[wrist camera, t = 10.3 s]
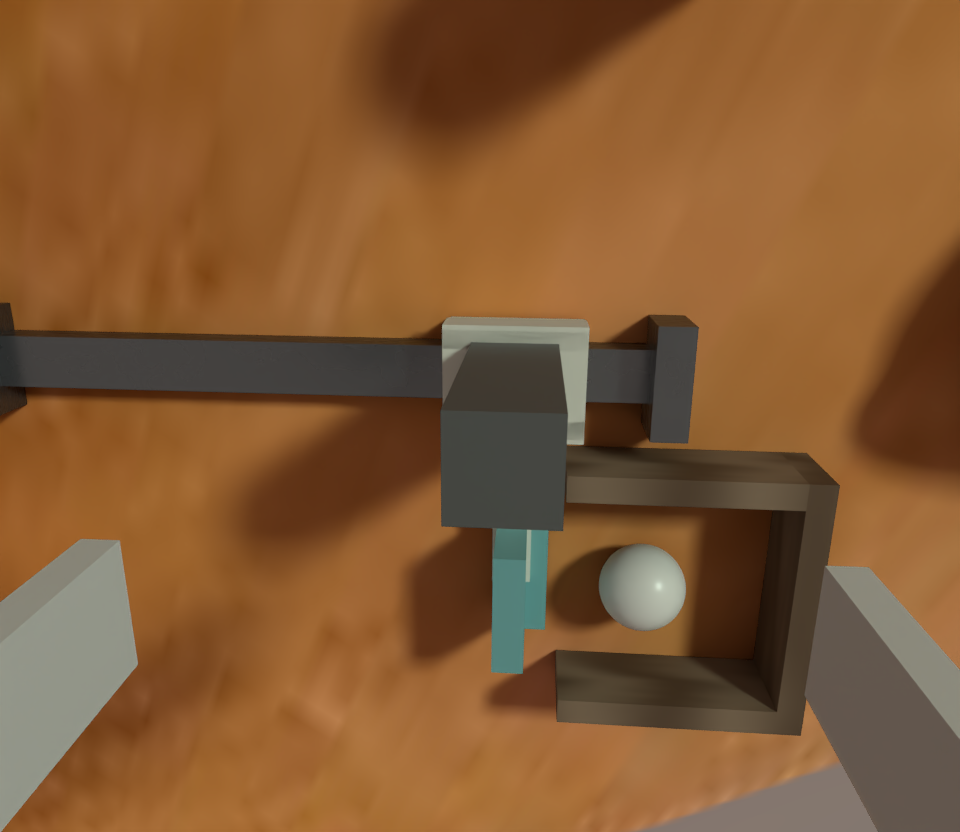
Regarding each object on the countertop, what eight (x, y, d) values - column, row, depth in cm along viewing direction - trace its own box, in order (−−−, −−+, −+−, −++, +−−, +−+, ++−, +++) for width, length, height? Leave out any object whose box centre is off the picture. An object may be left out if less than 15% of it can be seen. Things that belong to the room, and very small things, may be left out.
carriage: (452, 610, 38) (409, 819, 26) (451, 312, 34) (398, 385, 21) (570, 616, 38) (586, 831, 25) (584, 314, 33) (612, 390, 21)
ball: (579, 623, 36) (650, 659, 33) (583, 547, 35) (657, 578, 32) (628, 593, 38) (698, 625, 36) (634, 522, 37) (706, 549, 35)
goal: (554, 670, 39) (556, 721, 35) (564, 445, 36) (567, 476, 32) (774, 681, 38) (800, 735, 35) (806, 453, 35) (839, 485, 31)
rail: (-4, 403, 37) (-49, 420, 34) (-23, 302, 36) (-72, 312, 33) (675, 422, 35) (687, 443, 32) (684, 315, 33) (698, 327, 30)
